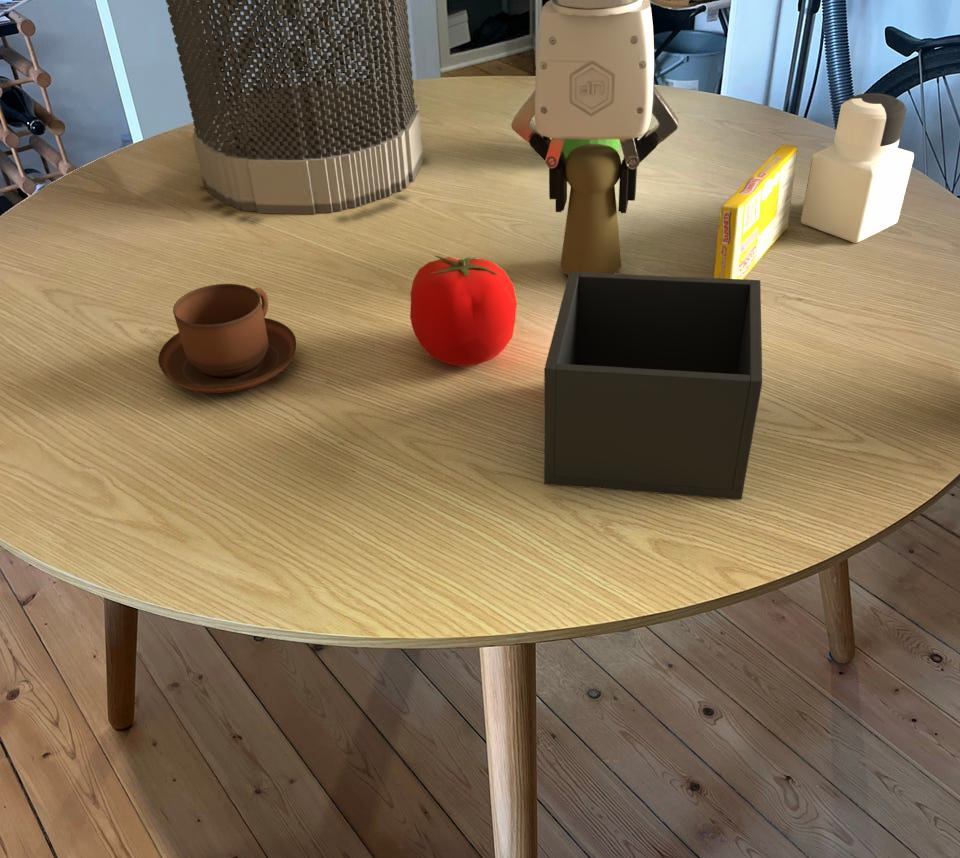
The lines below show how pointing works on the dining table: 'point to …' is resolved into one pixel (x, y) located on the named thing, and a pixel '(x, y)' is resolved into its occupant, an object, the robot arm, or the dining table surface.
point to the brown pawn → (592, 211)
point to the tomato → (462, 310)
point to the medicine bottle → (860, 171)
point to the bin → (653, 384)
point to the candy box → (755, 215)
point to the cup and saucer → (225, 340)
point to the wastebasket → (299, 102)
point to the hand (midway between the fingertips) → (592, 205)
